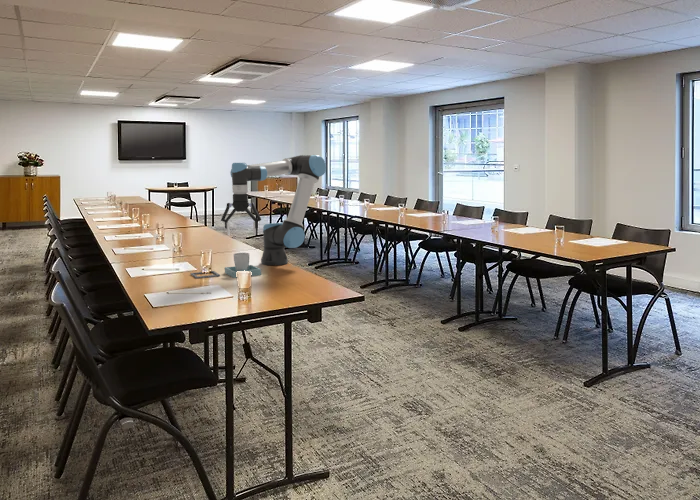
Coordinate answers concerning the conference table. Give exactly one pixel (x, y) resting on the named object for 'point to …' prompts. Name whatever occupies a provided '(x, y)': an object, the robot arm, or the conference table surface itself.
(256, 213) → the robot arm
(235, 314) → the conference table surface
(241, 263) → the cup
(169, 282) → the conference table surface
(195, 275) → the grey flat square frame
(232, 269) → the bin
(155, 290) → the conference table surface
